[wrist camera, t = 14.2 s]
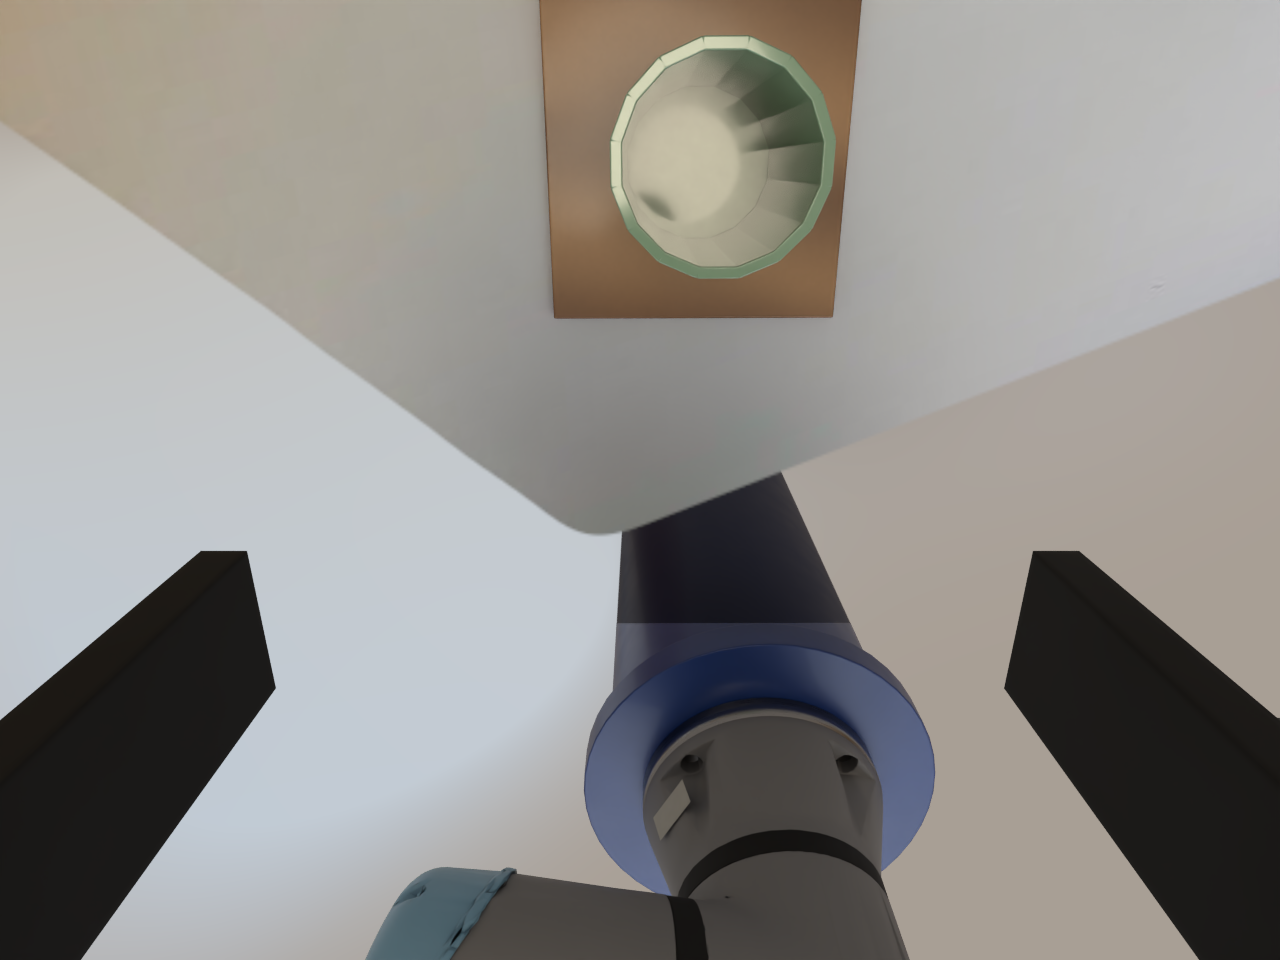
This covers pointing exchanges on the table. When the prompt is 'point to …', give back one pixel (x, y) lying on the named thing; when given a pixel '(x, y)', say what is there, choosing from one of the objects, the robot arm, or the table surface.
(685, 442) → the table surface
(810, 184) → the cup
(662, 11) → the cork tile
